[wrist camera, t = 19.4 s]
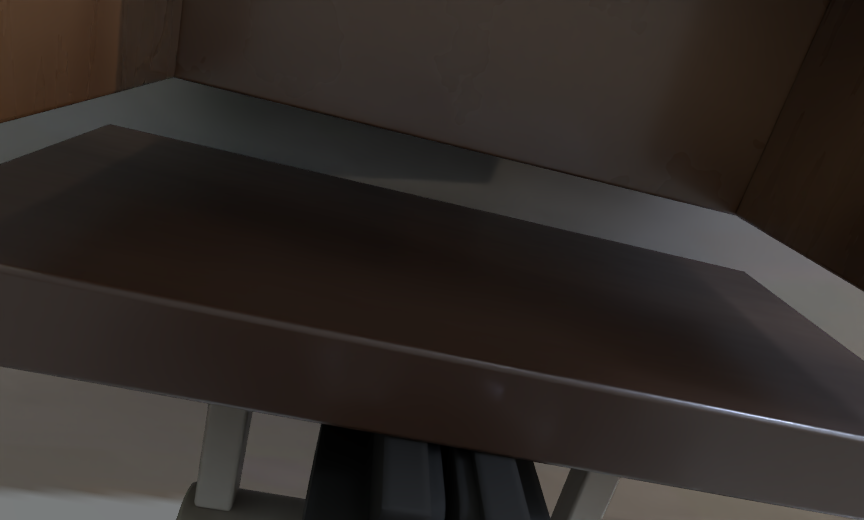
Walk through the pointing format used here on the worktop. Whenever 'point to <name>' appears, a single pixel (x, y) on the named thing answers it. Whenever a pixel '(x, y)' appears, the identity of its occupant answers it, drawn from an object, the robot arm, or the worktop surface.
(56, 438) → the worktop surface
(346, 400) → the drawer
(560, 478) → the worktop surface
